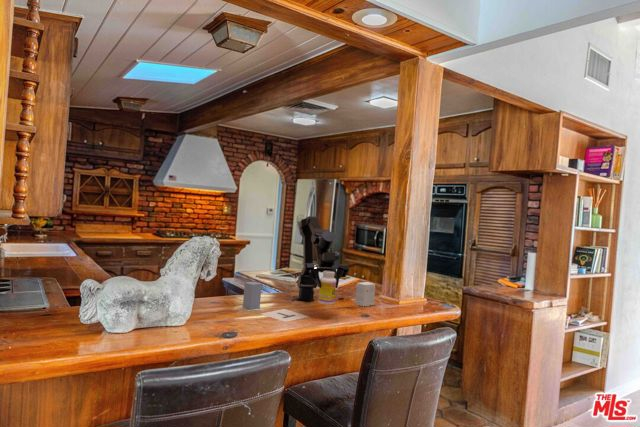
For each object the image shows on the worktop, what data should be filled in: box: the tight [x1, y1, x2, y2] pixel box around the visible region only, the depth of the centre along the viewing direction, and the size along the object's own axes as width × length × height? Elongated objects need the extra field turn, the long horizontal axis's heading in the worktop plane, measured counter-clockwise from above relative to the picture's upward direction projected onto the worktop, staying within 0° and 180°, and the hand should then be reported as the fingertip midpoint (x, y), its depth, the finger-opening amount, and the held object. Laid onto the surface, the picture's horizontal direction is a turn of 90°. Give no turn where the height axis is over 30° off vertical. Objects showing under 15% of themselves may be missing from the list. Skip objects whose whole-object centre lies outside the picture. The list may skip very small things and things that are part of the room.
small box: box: [354, 281, 376, 308], centre depth 206 cm, size 8×6×10 cm
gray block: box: [242, 281, 263, 311], centre depth 179 cm, size 5×5×11 cm
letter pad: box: [260, 308, 310, 323], centre depth 172 cm, size 14×14×1 cm
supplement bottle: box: [317, 271, 337, 306], centre depth 173 cm, size 7×7×13 cm
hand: (328, 287), depth 172 cm, fingers closed on supplement bottle, 7 cm apart
